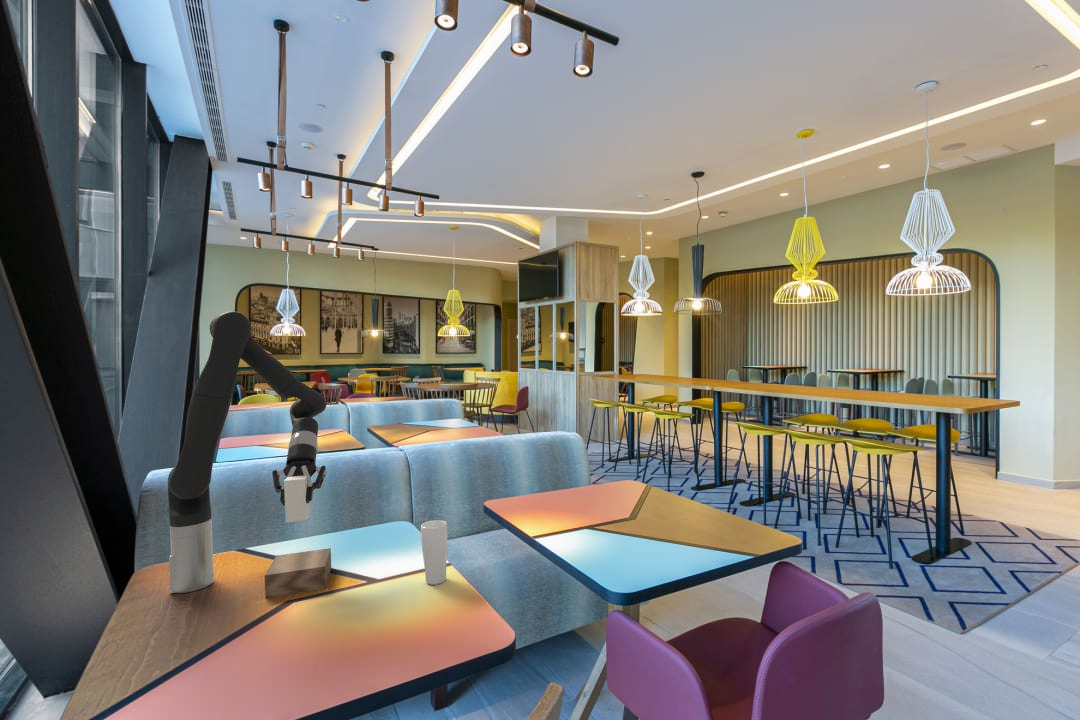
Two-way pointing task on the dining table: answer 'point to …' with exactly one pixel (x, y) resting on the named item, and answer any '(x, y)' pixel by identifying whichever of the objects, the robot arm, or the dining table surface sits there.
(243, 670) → the dining table surface
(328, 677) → the dining table surface
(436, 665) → the dining table surface
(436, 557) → the drinking glass
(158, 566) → the dining table surface
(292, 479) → the offwhite block
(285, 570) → the walnut box
